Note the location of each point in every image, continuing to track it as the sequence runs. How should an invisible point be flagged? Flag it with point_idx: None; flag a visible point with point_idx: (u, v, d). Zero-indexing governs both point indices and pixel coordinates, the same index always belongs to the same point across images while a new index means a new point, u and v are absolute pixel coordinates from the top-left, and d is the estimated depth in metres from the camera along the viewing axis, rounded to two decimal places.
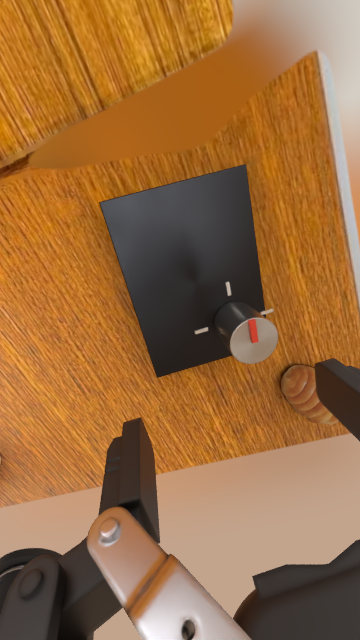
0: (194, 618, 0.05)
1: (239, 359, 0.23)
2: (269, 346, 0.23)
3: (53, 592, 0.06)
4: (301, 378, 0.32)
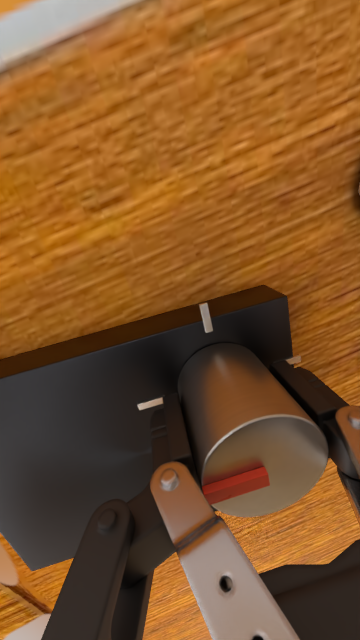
0: (233, 577, 0.05)
1: (307, 490, 0.09)
2: (288, 433, 0.08)
3: (129, 525, 0.07)
4: None
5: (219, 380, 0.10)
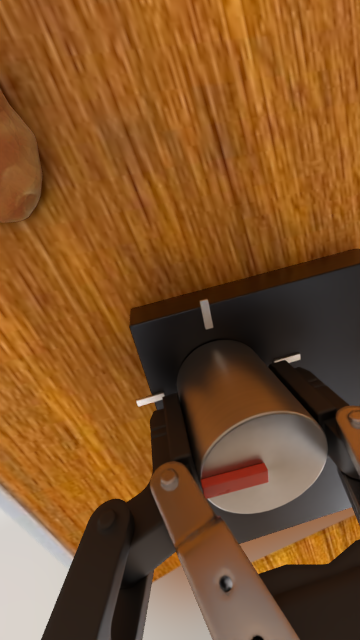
0: (233, 576, 0.05)
1: (304, 490, 0.09)
2: (291, 431, 0.08)
3: (129, 525, 0.07)
4: None
5: (222, 375, 0.10)
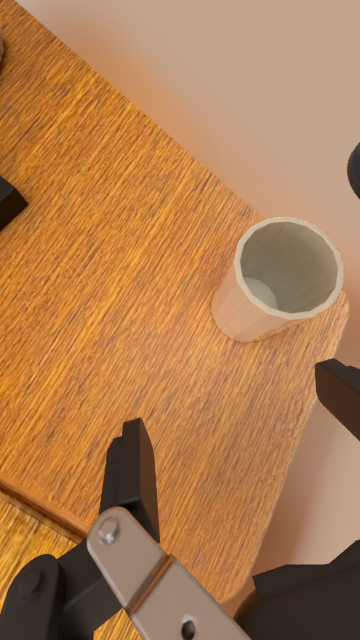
0: (194, 618, 0.05)
1: None
2: None
3: (53, 592, 0.06)
4: None
5: None
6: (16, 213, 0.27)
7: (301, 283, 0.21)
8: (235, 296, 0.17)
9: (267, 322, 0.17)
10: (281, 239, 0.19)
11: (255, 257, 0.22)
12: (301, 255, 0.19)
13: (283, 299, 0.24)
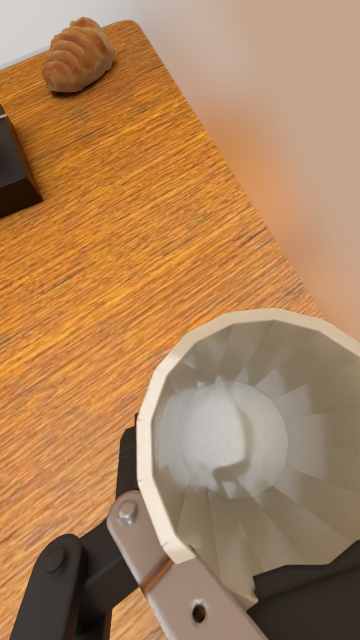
0: (205, 603, 0.05)
1: None
2: None
3: (77, 567, 0.06)
4: (46, 68, 0.29)
5: None
6: (24, 205, 0.24)
7: (328, 459, 0.10)
8: None
9: None
10: (304, 359, 0.09)
11: (259, 367, 0.12)
12: (341, 408, 0.09)
13: (295, 457, 0.13)
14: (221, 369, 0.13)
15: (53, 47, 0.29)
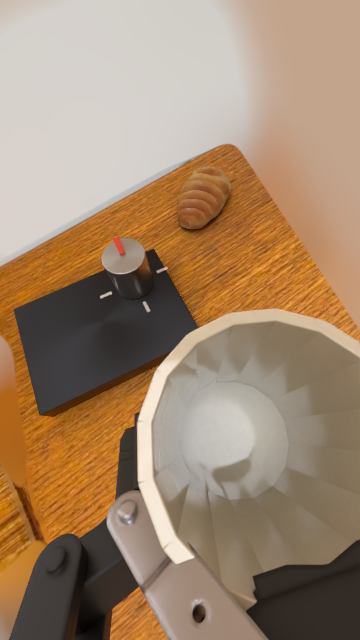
0: (205, 603, 0.05)
1: (111, 271, 0.26)
2: (137, 257, 0.26)
3: (77, 567, 0.06)
4: (184, 213, 0.35)
5: None
6: None
7: (329, 460, 0.10)
8: None
9: None
10: (305, 360, 0.09)
11: (260, 367, 0.12)
12: (341, 409, 0.09)
13: (296, 458, 0.13)
14: (221, 370, 0.13)
15: (189, 194, 0.35)
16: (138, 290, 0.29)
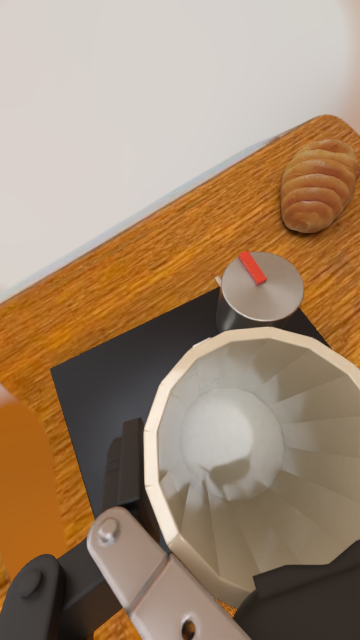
0: (194, 618, 0.05)
1: (248, 315, 0.14)
2: (291, 288, 0.14)
3: (53, 592, 0.06)
4: (300, 209, 0.23)
5: None
6: None
7: (320, 464, 0.10)
8: None
9: None
10: (297, 371, 0.10)
11: (256, 376, 0.13)
12: (331, 417, 0.10)
13: (291, 461, 0.14)
14: (220, 378, 0.14)
15: (305, 181, 0.23)
16: None
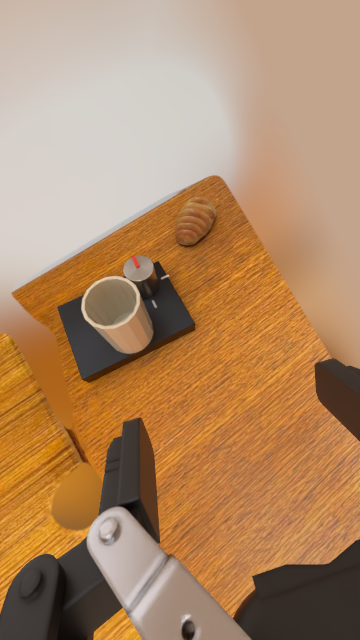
0: (194, 618, 0.05)
1: (131, 279, 0.37)
2: (148, 269, 0.37)
3: (53, 592, 0.06)
4: (181, 233, 0.47)
5: None
6: (186, 333, 0.41)
7: None
8: None
9: (93, 327, 0.31)
10: (131, 291, 0.33)
11: (130, 299, 0.36)
12: None
13: None
14: (120, 301, 0.37)
15: (184, 219, 0.47)
16: (148, 292, 0.40)
